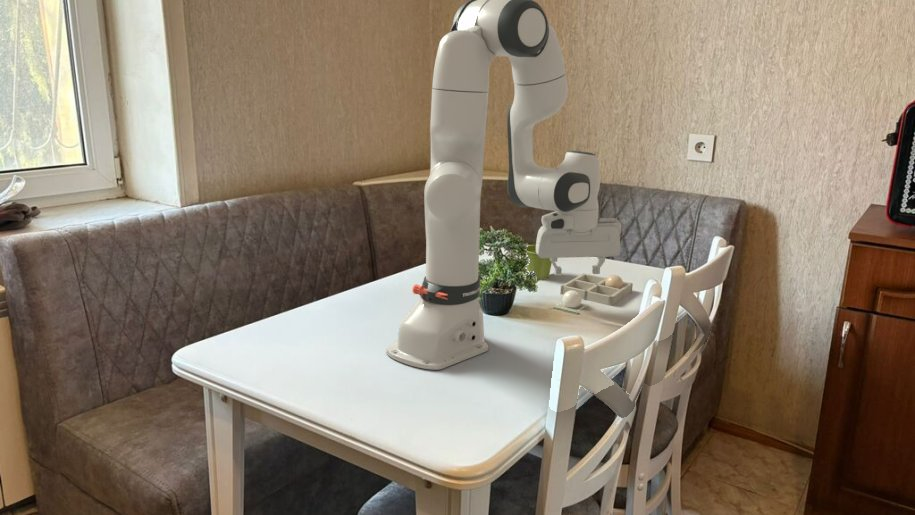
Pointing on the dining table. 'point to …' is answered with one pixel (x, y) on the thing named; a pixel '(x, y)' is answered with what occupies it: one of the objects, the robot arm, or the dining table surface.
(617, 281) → the brown egg
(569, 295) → the off-white ball
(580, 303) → the glass coaster
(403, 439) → the dining table surface
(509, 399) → the dining table surface
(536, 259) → the plant pot
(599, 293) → the egg tray
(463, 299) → the robot arm
